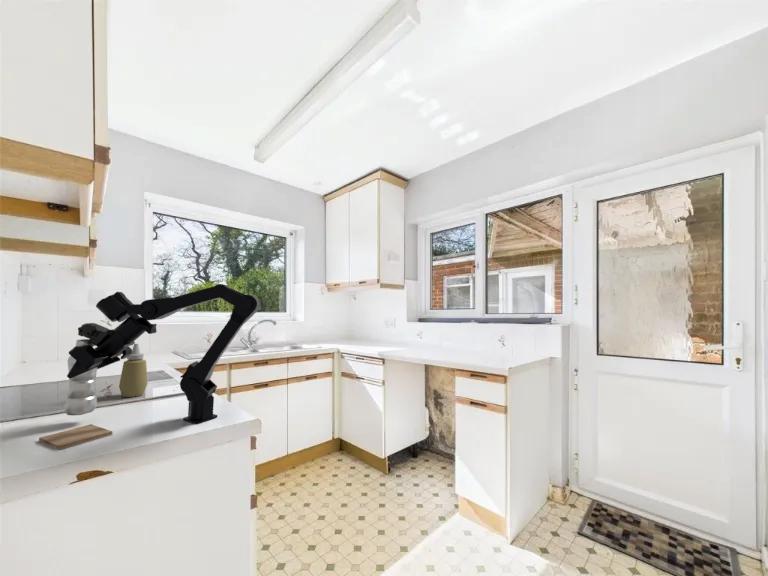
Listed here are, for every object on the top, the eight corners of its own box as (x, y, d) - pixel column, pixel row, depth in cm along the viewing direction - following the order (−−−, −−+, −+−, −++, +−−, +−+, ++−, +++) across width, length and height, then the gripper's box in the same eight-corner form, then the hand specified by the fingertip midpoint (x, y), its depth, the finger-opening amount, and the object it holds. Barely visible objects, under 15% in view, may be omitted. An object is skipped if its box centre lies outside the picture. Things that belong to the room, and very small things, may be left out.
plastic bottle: (102, 411, 92) (107, 339, 94) (78, 419, 86) (83, 341, 87) (82, 409, 93) (87, 338, 94) (56, 417, 86) (61, 340, 87)
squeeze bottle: (152, 392, 121) (155, 342, 122) (136, 398, 113) (140, 345, 114) (128, 392, 120) (132, 342, 121) (112, 398, 112) (115, 345, 113)
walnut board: (112, 434, 83) (112, 431, 83) (59, 449, 73) (60, 446, 74) (90, 427, 87) (91, 424, 87) (38, 441, 78) (39, 437, 78)
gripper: (122, 312, 101) (77, 349, 98) (80, 314, 83) (23, 359, 80) (150, 338, 102) (106, 375, 99) (114, 345, 84) (60, 391, 81)
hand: (77, 374), depth 90 cm, fingers closed on plastic bottle, 6 cm apart
